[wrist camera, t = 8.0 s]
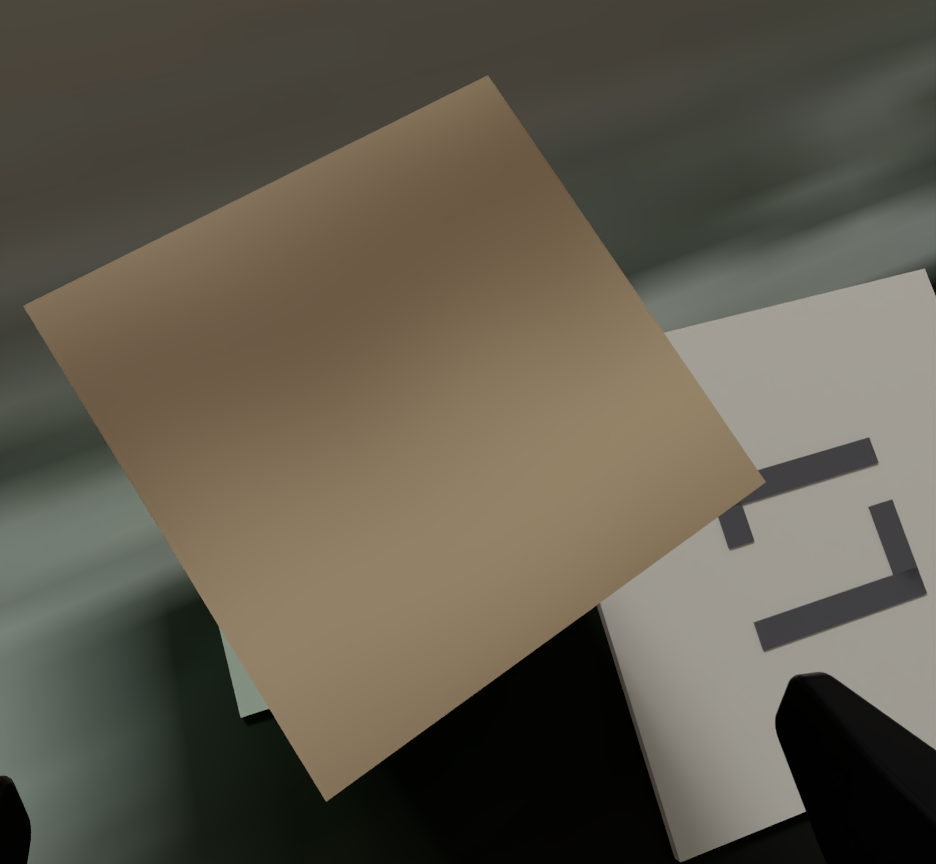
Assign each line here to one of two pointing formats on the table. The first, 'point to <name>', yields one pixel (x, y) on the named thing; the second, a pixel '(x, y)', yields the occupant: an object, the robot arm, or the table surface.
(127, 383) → the oak block
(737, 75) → the table surface
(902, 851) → the robot arm
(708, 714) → the tile
